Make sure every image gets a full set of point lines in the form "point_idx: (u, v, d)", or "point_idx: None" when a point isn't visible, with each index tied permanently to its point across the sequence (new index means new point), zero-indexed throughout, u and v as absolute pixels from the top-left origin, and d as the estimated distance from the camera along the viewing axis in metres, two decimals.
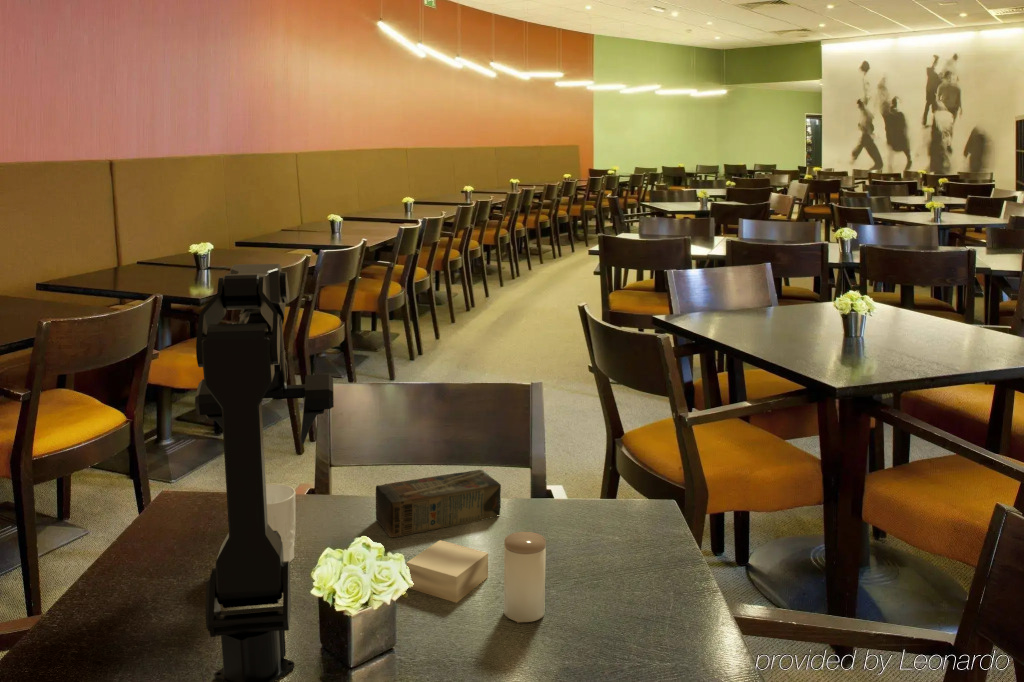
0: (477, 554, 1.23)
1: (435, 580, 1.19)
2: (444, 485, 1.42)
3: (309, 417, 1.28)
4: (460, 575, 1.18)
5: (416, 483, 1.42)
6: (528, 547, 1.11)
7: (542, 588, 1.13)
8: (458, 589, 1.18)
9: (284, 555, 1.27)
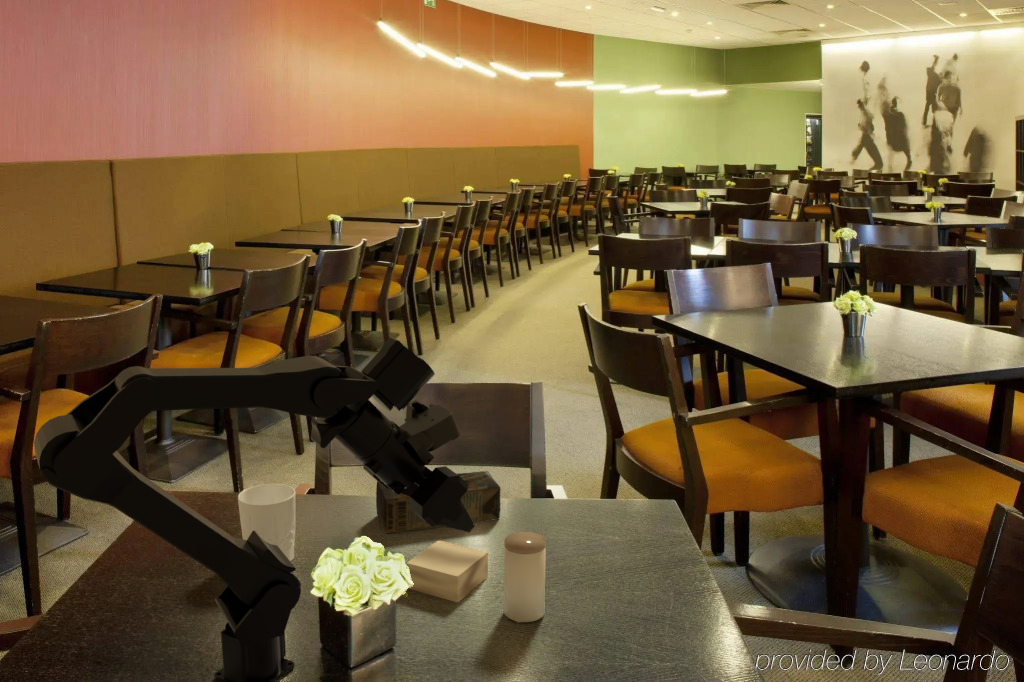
0: (477, 553, 1.24)
1: (436, 580, 1.19)
2: None
3: None
4: (461, 575, 1.18)
5: None
6: (528, 547, 1.11)
7: (542, 588, 1.13)
8: (460, 588, 1.18)
9: None
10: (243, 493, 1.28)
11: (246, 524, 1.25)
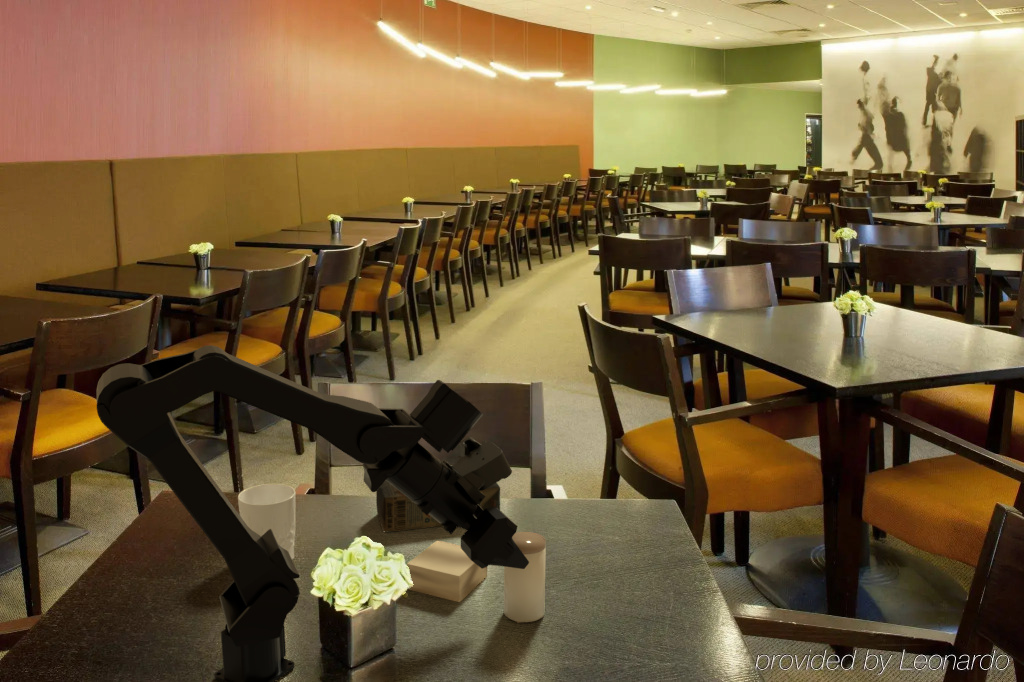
0: None
1: (437, 580, 1.19)
2: None
3: None
4: (463, 575, 1.18)
5: None
6: (528, 547, 1.11)
7: (542, 588, 1.13)
8: (461, 588, 1.18)
9: None
10: (243, 493, 1.28)
11: (246, 524, 1.25)
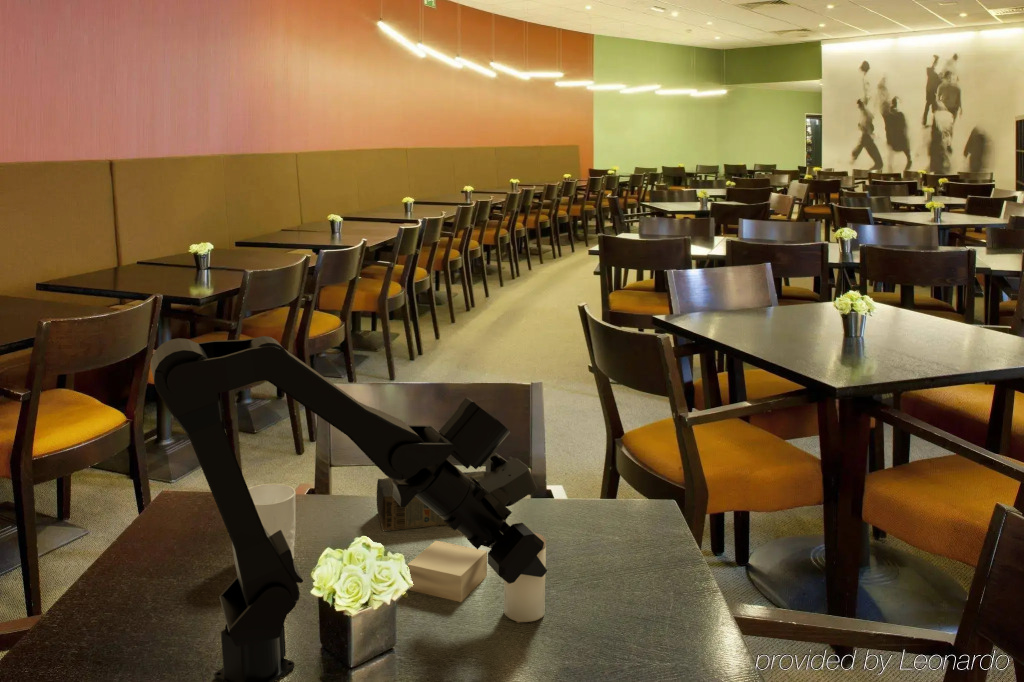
0: (476, 553, 1.24)
1: (438, 580, 1.19)
2: None
3: None
4: (464, 574, 1.18)
5: None
6: None
7: (542, 588, 1.13)
8: (462, 588, 1.18)
9: None
10: None
11: None
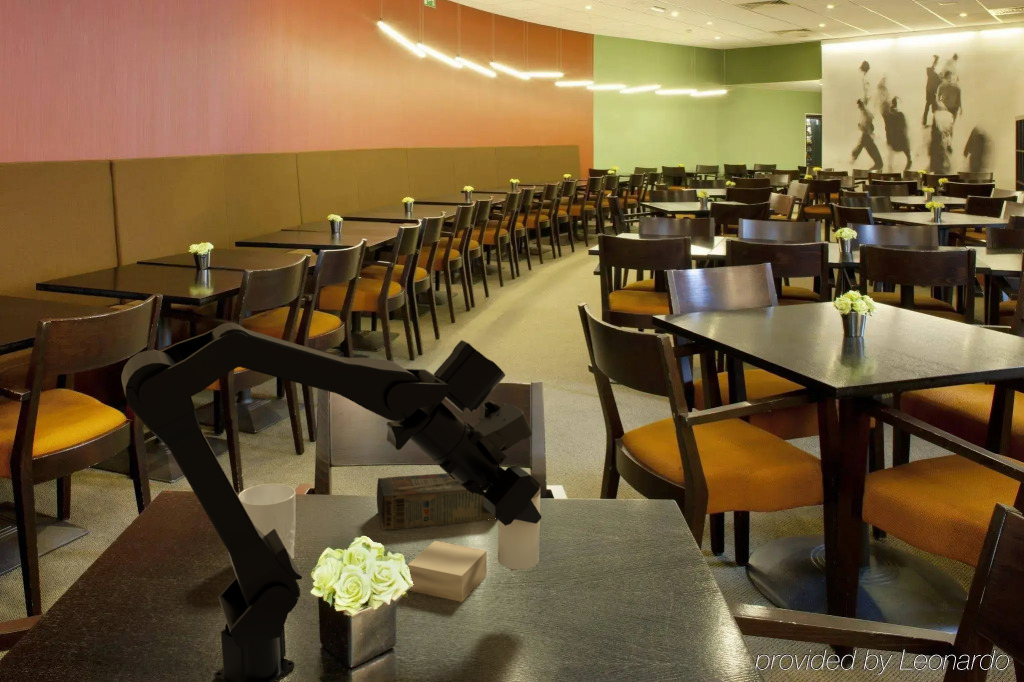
0: (476, 552, 1.24)
1: (439, 580, 1.19)
2: (443, 483, 1.43)
3: None
4: (465, 574, 1.18)
5: (416, 479, 1.44)
6: None
7: (537, 535, 1.12)
8: (463, 588, 1.18)
9: None
10: (243, 493, 1.28)
11: None
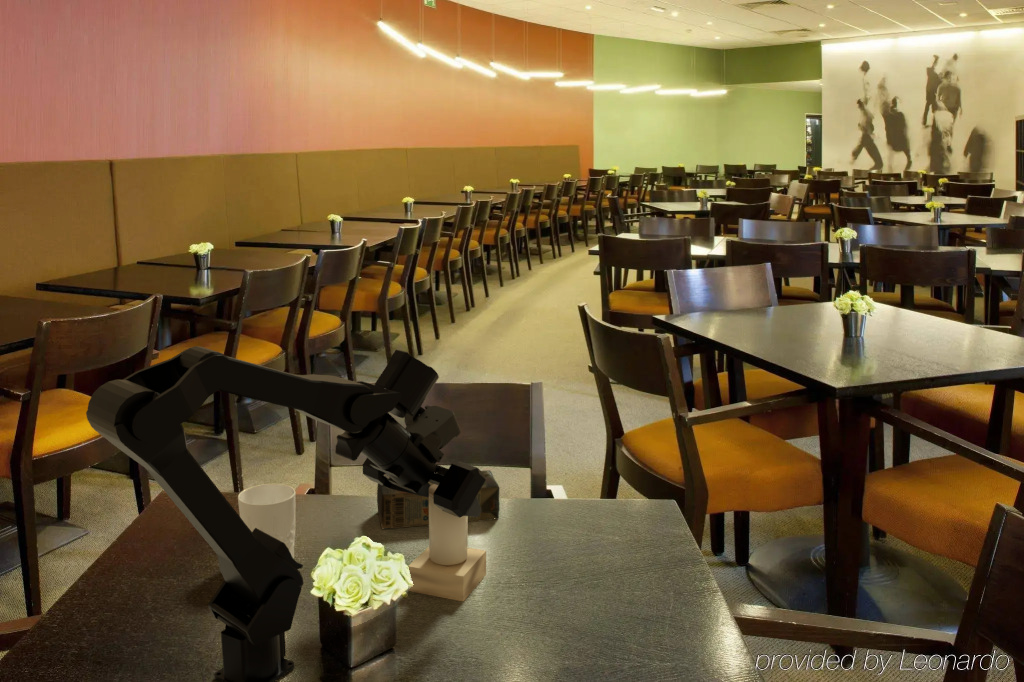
0: (476, 552, 1.24)
1: (440, 581, 1.19)
2: None
3: None
4: (466, 575, 1.18)
5: None
6: None
7: (467, 530, 1.21)
8: (465, 588, 1.18)
9: None
10: (243, 493, 1.28)
11: (246, 524, 1.25)
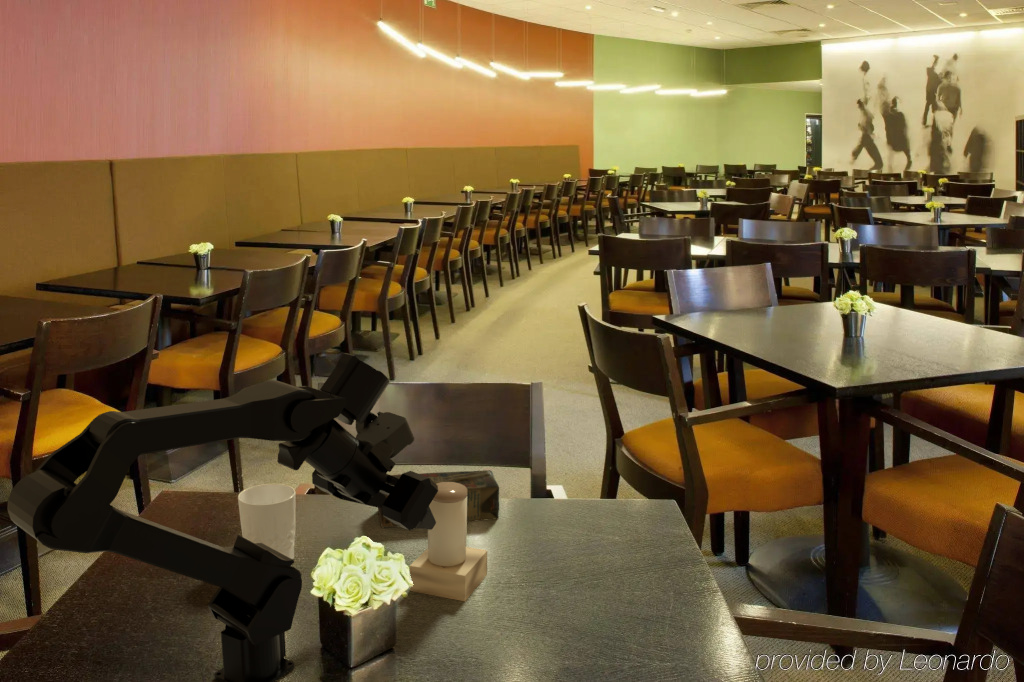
0: (477, 552, 1.24)
1: (442, 581, 1.19)
2: None
3: None
4: (468, 574, 1.19)
5: None
6: (453, 496, 1.18)
7: (465, 532, 1.20)
8: (466, 588, 1.18)
9: None
10: (243, 493, 1.28)
11: (246, 524, 1.25)
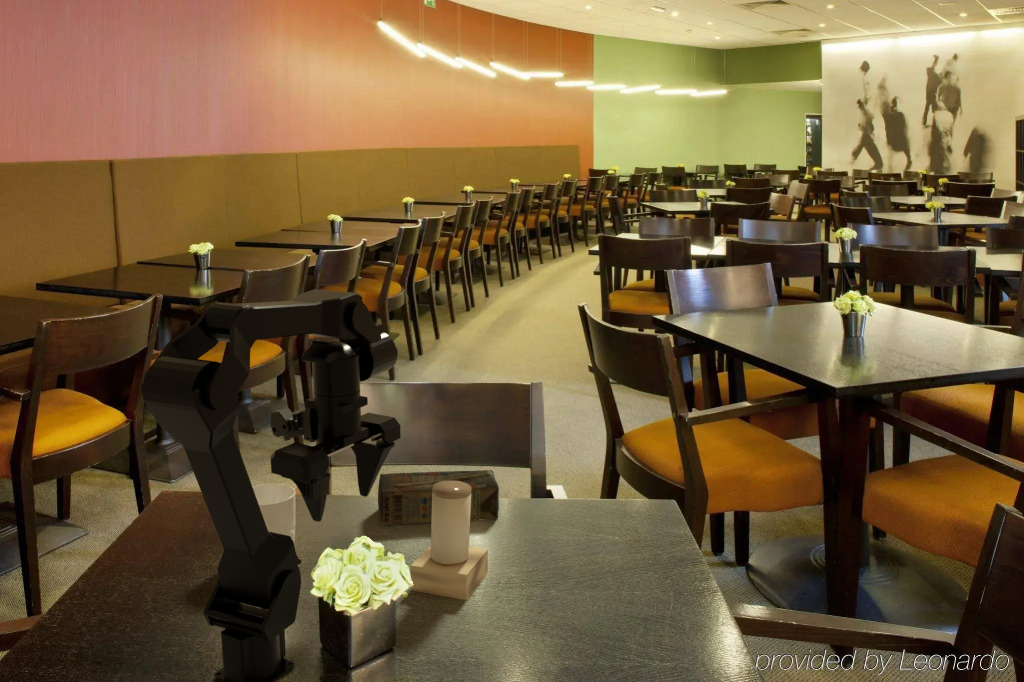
0: (477, 551, 1.24)
1: (443, 580, 1.19)
2: None
3: (385, 454, 1.18)
4: (469, 573, 1.19)
5: (417, 476, 1.45)
6: (456, 493, 1.19)
7: (467, 532, 1.21)
8: (468, 587, 1.19)
9: None
10: None
11: None
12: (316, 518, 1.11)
